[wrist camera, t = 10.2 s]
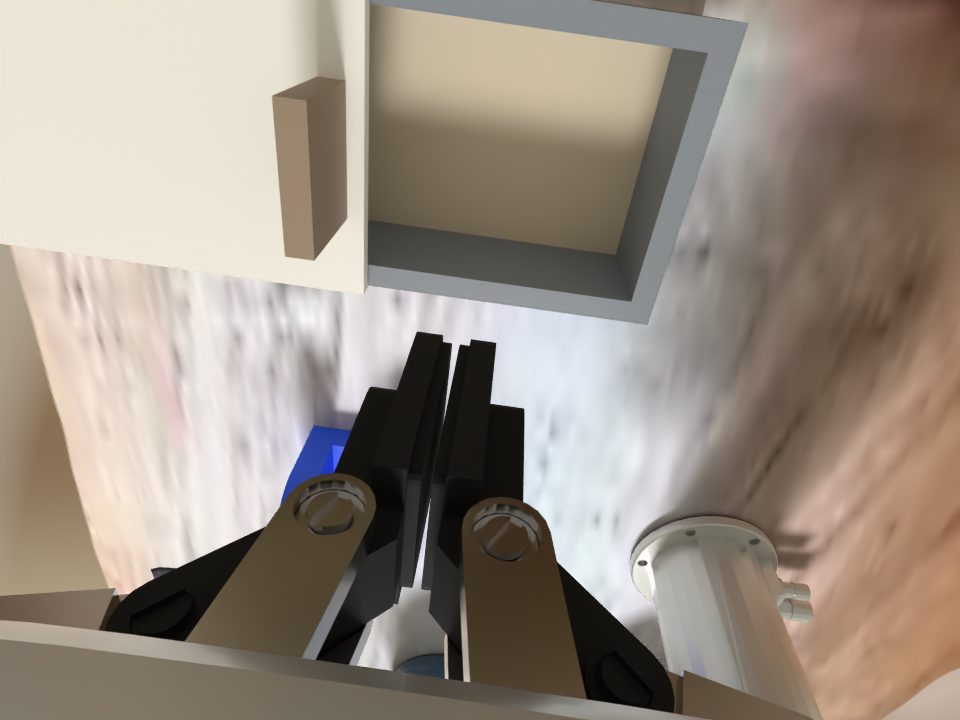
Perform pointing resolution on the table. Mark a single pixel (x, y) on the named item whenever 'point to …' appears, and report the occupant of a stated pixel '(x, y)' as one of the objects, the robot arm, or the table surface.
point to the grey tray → (537, 147)
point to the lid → (190, 134)
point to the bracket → (317, 456)
